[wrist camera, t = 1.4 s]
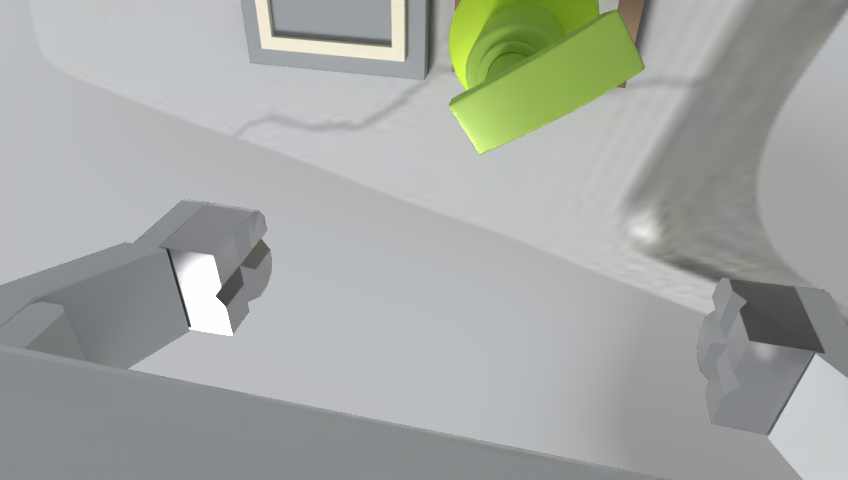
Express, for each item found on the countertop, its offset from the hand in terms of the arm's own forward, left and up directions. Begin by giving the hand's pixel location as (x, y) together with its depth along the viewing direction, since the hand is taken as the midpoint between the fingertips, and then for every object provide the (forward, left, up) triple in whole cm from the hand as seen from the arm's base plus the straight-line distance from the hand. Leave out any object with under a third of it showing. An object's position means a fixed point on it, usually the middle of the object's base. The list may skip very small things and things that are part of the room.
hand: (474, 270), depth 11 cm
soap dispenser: (0, 0, -28) cm, 28 cm away
